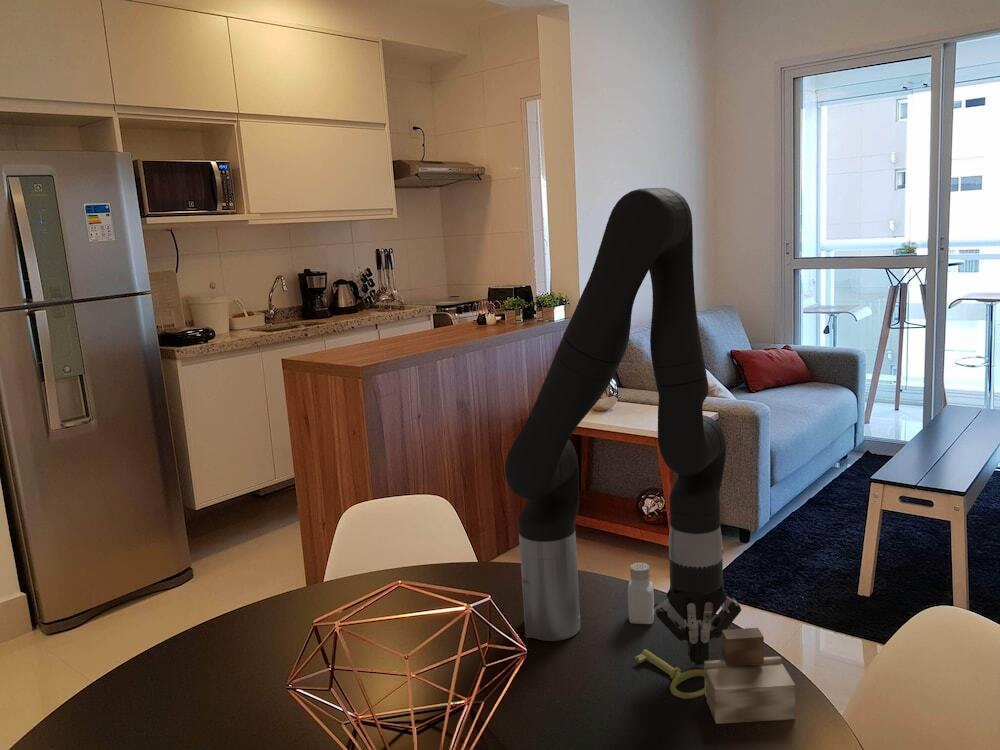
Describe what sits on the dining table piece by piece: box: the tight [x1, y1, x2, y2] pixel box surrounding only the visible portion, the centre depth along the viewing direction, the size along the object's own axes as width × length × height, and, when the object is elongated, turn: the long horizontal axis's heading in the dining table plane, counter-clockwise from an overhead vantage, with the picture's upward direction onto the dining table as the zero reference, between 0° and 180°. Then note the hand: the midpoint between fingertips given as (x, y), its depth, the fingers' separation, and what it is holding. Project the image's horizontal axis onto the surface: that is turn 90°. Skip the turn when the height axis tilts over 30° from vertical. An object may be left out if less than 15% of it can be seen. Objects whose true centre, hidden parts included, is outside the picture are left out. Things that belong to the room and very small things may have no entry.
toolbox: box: [705, 663, 796, 725], centre depth 110 cm, size 10×5×5 cm, turn 90°
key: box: [634, 649, 705, 700], centre depth 119 cm, size 7×12×2 cm, turn 54°
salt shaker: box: [627, 562, 655, 625], centre depth 136 cm, size 4×4×10 cm
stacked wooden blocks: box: [703, 627, 783, 698], centre depth 111 cm, size 10×6×9 cm, turn 90°
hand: (698, 662), depth 121 cm, fingers closed
